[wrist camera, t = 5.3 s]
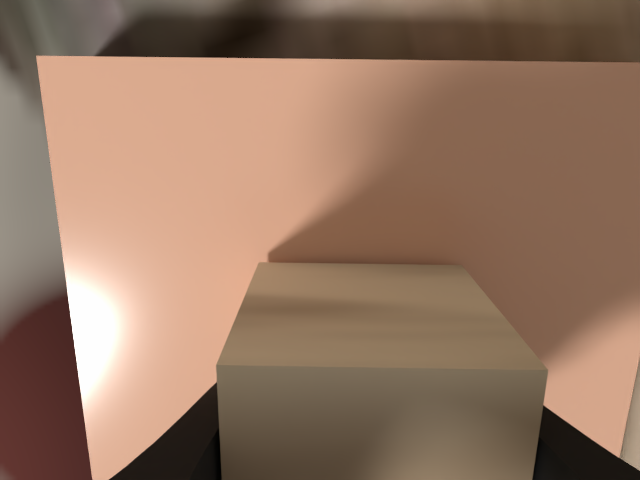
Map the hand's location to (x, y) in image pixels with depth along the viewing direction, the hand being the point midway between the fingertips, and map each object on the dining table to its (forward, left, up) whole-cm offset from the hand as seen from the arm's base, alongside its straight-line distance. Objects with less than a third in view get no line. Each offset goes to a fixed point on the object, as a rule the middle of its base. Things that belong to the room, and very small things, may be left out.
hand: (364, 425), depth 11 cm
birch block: (0, 0, -3) cm, 3 cm away
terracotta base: (0, 0, -5) cm, 5 cm away
